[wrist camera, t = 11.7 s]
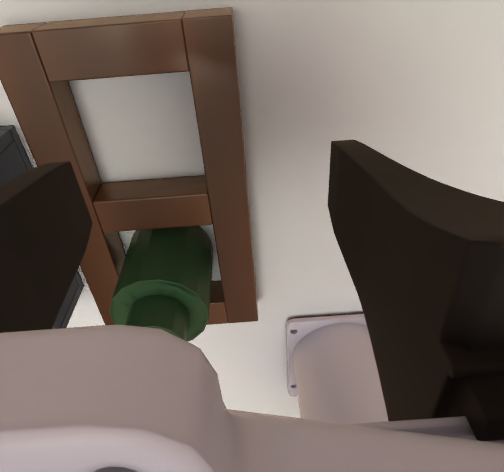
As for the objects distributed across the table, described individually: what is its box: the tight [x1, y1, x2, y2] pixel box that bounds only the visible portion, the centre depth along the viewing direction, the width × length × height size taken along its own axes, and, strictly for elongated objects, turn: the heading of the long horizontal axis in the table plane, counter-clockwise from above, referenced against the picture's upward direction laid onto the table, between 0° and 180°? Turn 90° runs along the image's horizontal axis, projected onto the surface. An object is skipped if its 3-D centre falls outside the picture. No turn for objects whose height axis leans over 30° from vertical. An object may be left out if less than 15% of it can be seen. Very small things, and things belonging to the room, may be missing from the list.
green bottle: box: [109, 226, 213, 342], centre depth 22 cm, size 5×5×8 cm
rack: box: [0, 7, 258, 325], centre depth 22 cm, size 10×18×2 cm, turn 4°
